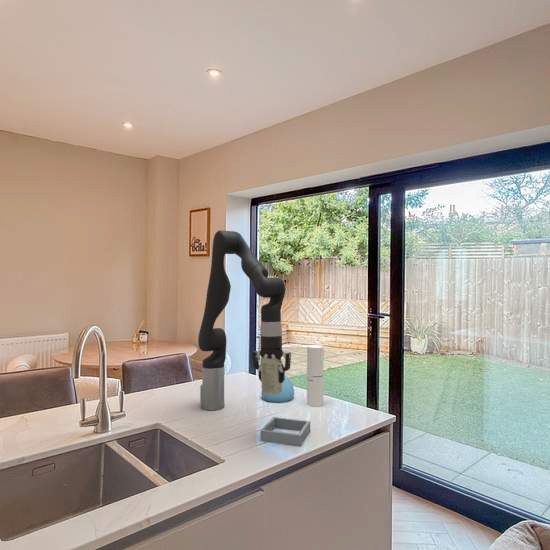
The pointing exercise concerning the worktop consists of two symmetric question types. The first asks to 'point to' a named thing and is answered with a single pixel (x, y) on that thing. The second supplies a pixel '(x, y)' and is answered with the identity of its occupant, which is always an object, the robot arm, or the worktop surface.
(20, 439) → the worktop surface
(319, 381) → the cylindrical container
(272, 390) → the skincare box
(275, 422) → the box
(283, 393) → the sugar bowl
